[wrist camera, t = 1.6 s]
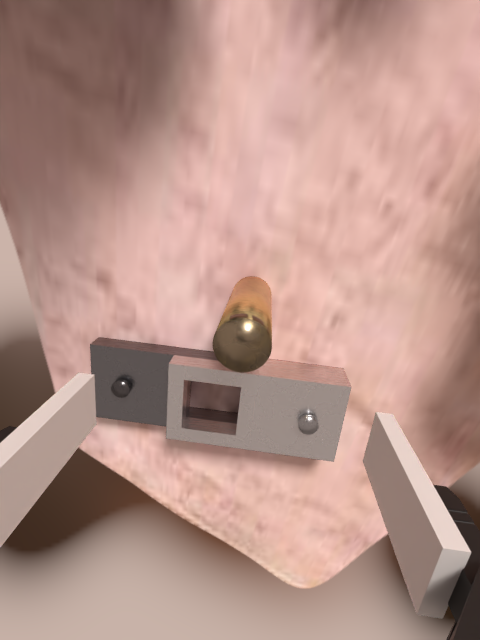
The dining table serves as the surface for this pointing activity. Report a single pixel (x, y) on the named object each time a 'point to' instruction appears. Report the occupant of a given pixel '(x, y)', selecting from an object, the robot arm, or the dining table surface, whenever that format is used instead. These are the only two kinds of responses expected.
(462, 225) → the dining table surface
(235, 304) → the pin
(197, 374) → the door bolt
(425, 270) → the dining table surface
